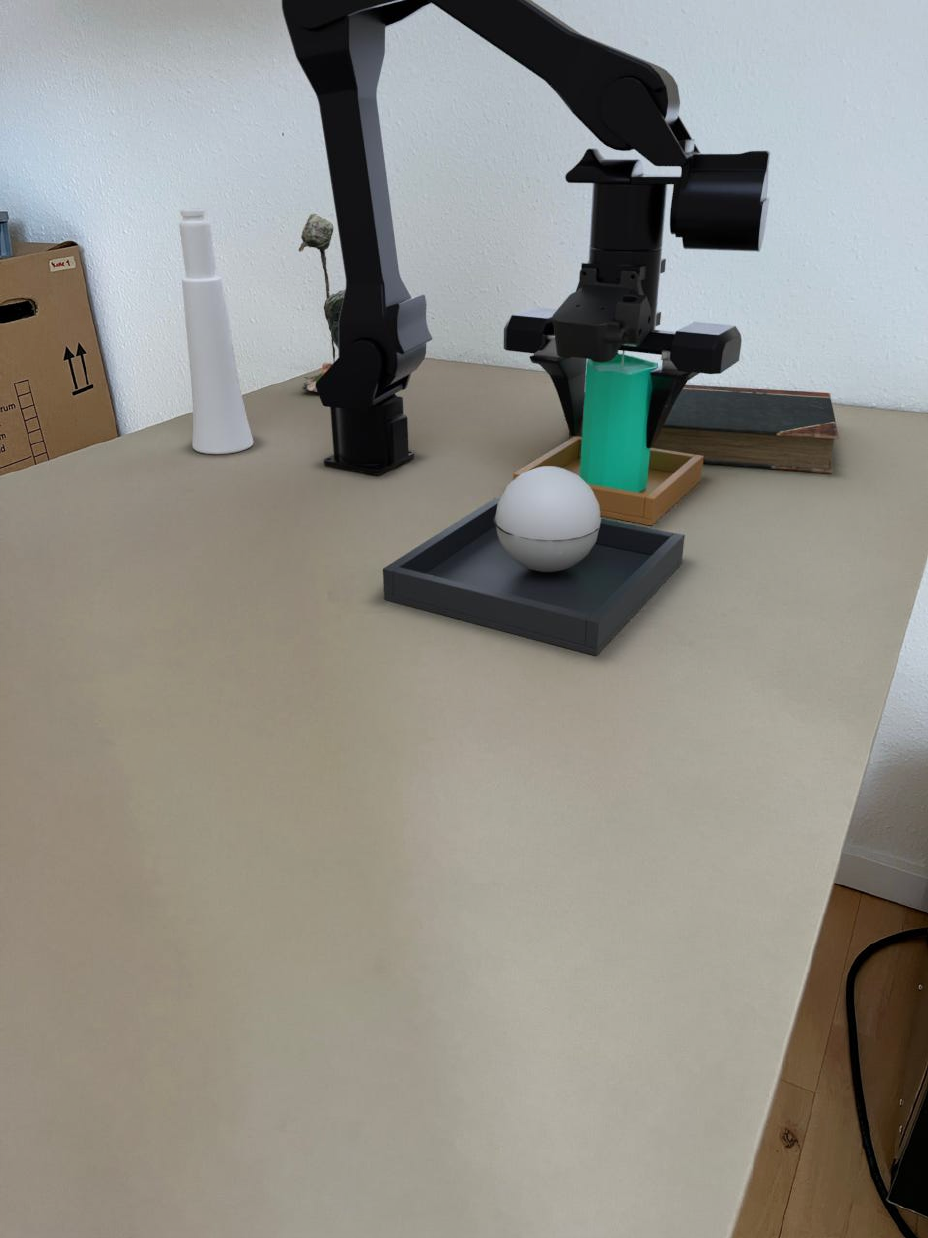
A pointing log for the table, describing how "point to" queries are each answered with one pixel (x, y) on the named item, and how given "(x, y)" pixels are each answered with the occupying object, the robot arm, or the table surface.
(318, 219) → the plant with pod
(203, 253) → the cosmetic bottle
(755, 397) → the book
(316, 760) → the table surface
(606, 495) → the wood tray
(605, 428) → the candle
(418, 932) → the table surface
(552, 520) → the white sphere
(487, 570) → the dark tray
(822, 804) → the table surface
